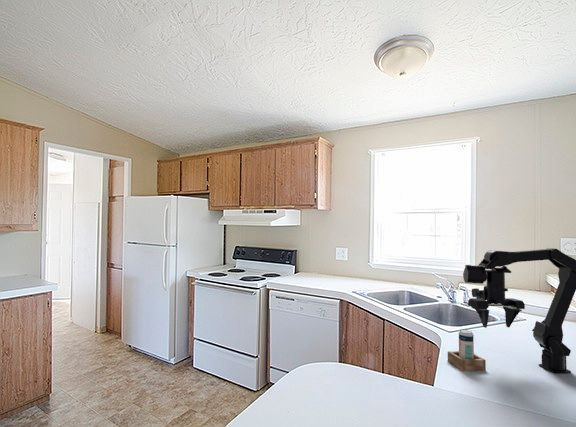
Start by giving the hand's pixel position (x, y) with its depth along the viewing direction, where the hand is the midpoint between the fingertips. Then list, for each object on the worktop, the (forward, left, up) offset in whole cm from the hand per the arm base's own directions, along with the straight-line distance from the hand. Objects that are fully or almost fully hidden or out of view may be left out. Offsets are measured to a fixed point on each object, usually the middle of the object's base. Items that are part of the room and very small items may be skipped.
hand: (496, 327), depth 116 cm
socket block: (+13, +1, -13) cm, 18 cm away
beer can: (+13, +1, -13) cm, 18 cm away
